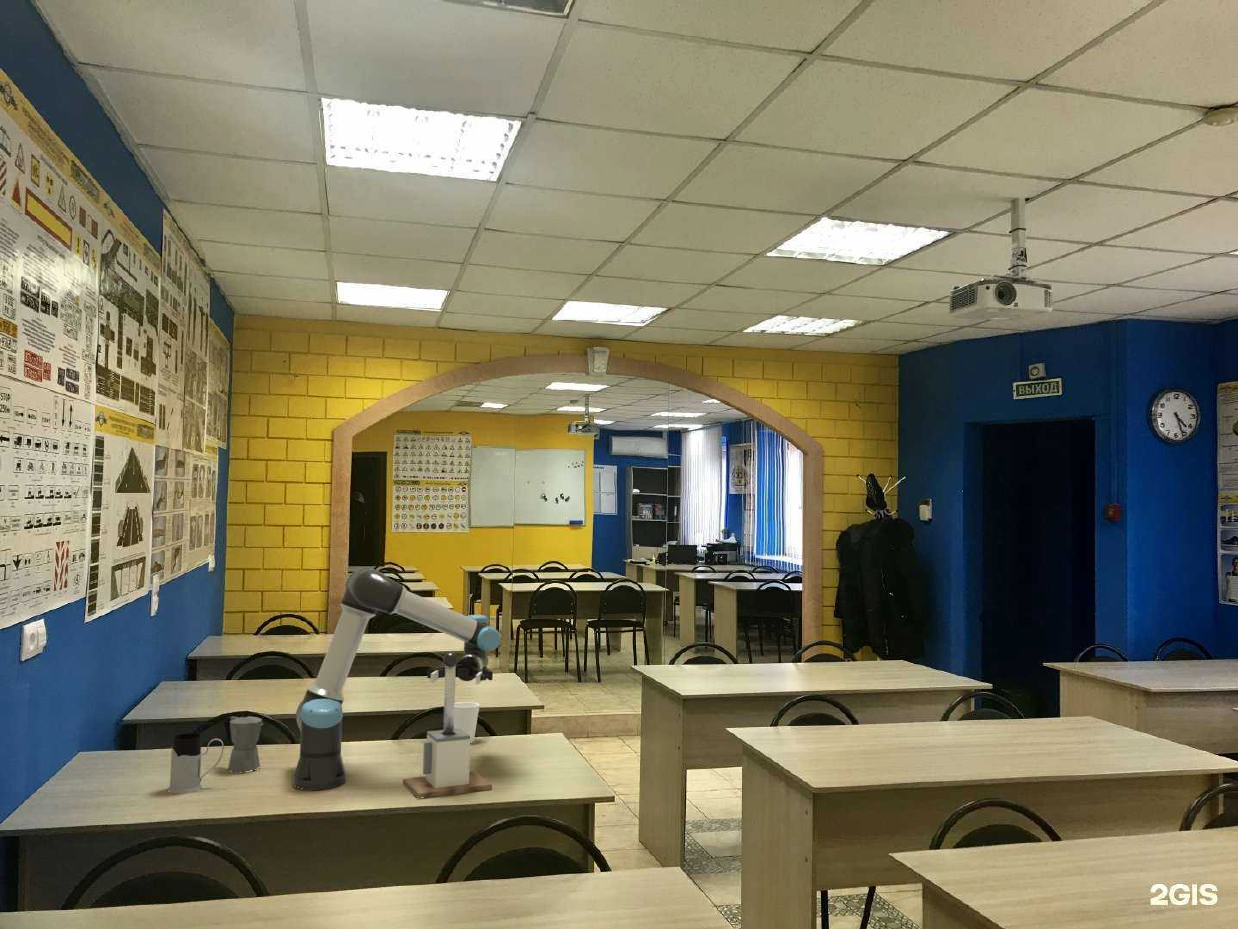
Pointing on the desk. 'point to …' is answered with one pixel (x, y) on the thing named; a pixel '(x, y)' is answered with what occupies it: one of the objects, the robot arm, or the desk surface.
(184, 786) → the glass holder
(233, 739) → the coffeepot
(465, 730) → the foam cup
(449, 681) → the plunger
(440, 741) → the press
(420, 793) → the board
